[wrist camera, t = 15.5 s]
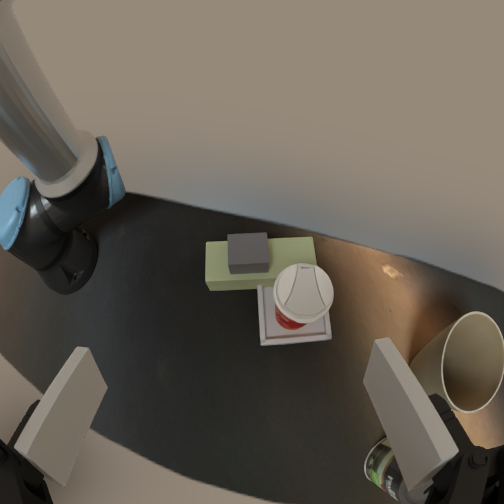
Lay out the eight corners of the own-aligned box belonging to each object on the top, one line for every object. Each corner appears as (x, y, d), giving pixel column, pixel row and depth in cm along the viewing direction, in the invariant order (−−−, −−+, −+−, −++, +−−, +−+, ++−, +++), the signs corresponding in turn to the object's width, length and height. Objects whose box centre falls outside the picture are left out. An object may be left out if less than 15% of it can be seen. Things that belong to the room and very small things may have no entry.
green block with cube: (210, 347, 43) (200, 341, 35) (210, 254, 51) (201, 230, 43) (329, 339, 44) (345, 331, 35) (316, 249, 51) (327, 224, 43)
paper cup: (270, 290, 47) (275, 257, 34) (314, 293, 47) (335, 261, 34) (267, 336, 44) (271, 319, 31) (313, 338, 43) (336, 322, 31)
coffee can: (375, 492, 30) (410, 519, 17) (355, 457, 34) (389, 481, 21) (419, 459, 32) (462, 474, 19) (402, 423, 36) (447, 433, 23)
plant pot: (450, 332, 43) (503, 310, 28) (448, 403, 36) (503, 402, 22) (391, 332, 44) (441, 310, 29) (386, 412, 37) (437, 421, 23)
